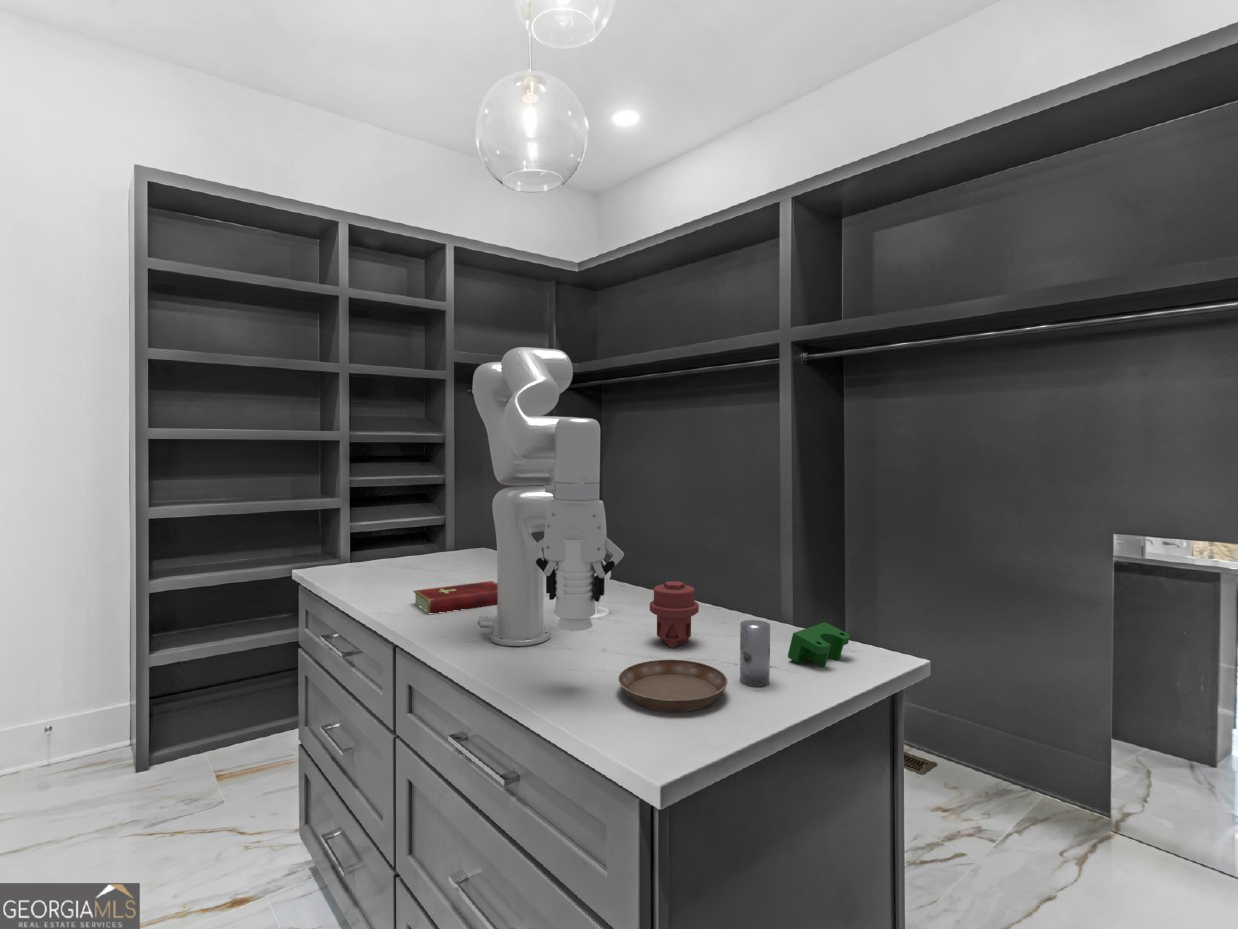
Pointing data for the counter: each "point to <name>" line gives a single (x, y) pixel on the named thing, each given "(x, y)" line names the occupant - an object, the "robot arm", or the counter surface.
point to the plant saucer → (673, 684)
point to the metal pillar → (754, 653)
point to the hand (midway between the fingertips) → (575, 597)
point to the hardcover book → (457, 597)
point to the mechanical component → (674, 611)
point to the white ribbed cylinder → (574, 589)
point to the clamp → (817, 644)
